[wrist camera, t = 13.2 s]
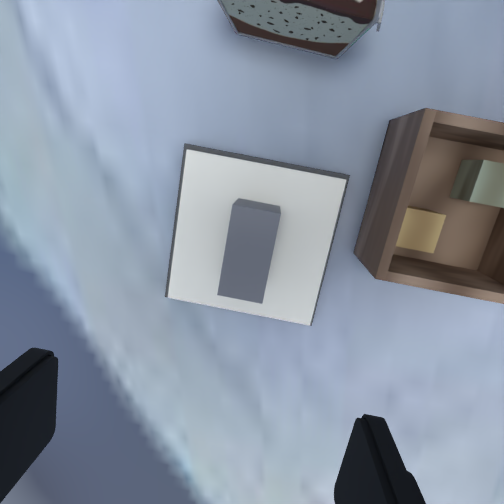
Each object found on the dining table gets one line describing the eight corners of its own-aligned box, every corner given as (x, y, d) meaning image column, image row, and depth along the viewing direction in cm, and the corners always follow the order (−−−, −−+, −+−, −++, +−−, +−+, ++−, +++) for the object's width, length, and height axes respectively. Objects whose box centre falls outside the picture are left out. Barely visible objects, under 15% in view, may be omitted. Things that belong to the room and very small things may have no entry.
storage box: (528, 146, 32) (608, 142, 24) (478, 277, 36) (535, 310, 28) (389, 120, 32) (425, 108, 25) (353, 253, 36) (375, 278, 28)
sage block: (499, 166, 32) (525, 167, 29) (485, 204, 33) (509, 209, 30) (462, 159, 32) (484, 159, 29) (449, 197, 33) (469, 201, 30)
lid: (344, 179, 33) (359, 183, 27) (308, 320, 37) (315, 351, 31) (189, 149, 33) (171, 147, 27) (170, 293, 37) (151, 319, 31)
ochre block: (429, 209, 34) (446, 215, 30) (417, 244, 35) (433, 253, 31) (393, 202, 34) (406, 207, 30) (383, 237, 35) (394, 245, 31)
